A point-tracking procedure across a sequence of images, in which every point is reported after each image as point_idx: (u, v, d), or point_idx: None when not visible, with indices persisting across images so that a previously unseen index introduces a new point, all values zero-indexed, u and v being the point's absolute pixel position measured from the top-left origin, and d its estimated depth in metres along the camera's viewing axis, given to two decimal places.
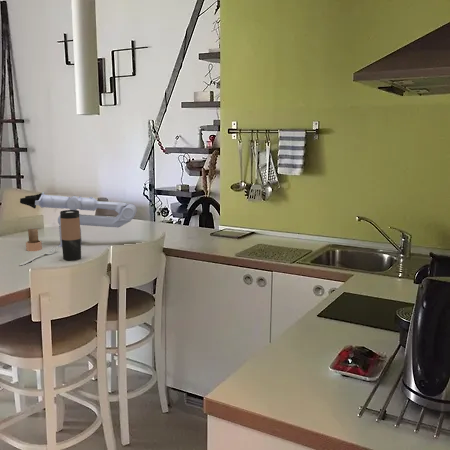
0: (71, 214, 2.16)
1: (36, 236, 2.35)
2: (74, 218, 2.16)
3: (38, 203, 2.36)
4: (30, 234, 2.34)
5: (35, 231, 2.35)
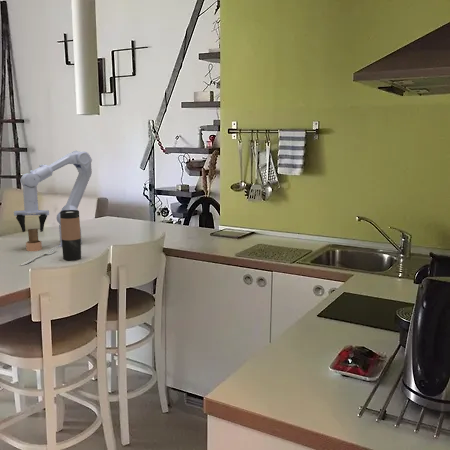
0: (71, 214, 2.16)
1: (36, 236, 2.35)
2: (74, 218, 2.16)
3: (48, 211, 2.35)
4: (30, 234, 2.34)
5: (35, 231, 2.35)
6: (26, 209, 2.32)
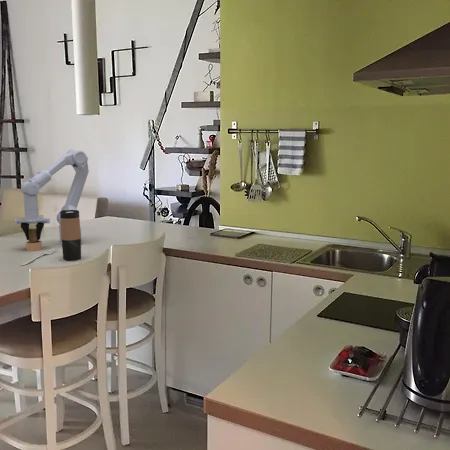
0: (71, 214, 2.16)
1: (36, 236, 2.35)
2: (74, 218, 2.16)
3: (48, 219, 2.36)
4: (30, 234, 2.34)
5: (35, 231, 2.35)
6: (27, 217, 2.32)
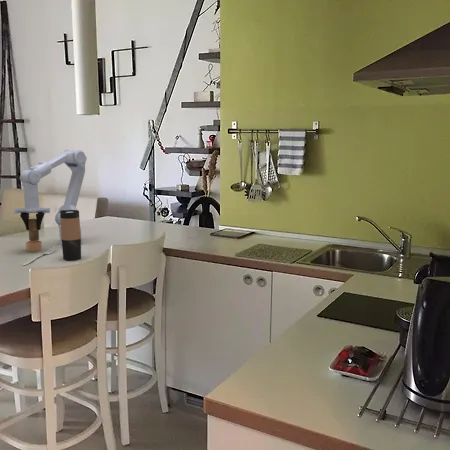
0: (71, 214, 2.16)
1: (36, 226, 2.29)
2: (74, 218, 2.16)
3: (49, 209, 2.29)
4: (30, 224, 2.28)
5: (35, 221, 2.29)
6: (26, 207, 2.26)
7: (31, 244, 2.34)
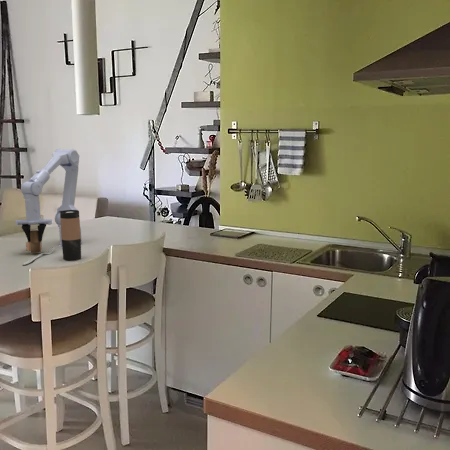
0: (71, 214, 2.16)
1: (38, 238, 2.27)
2: (74, 218, 2.16)
3: (51, 220, 2.27)
4: (32, 236, 2.26)
5: (37, 233, 2.27)
6: (28, 218, 2.24)
7: None
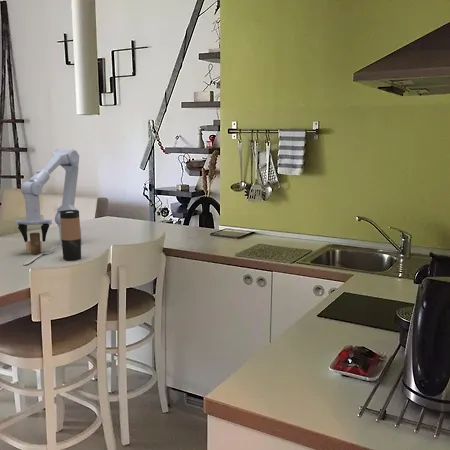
0: (71, 214, 2.16)
1: (38, 240, 2.28)
2: (74, 218, 2.16)
3: (51, 220, 2.27)
4: (32, 238, 2.26)
5: (37, 235, 2.27)
6: (28, 218, 2.24)
7: None
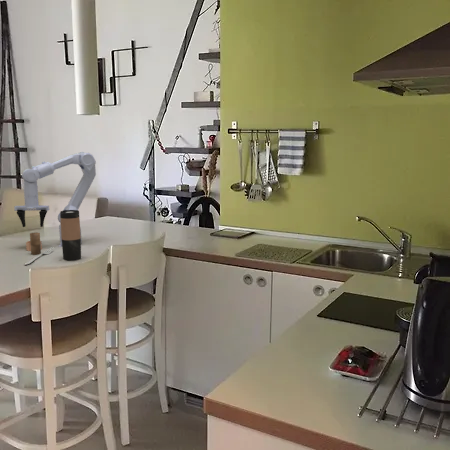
0: (71, 214, 2.16)
1: (38, 240, 2.28)
2: (74, 218, 2.16)
3: (48, 206, 2.37)
4: (32, 238, 2.26)
5: (37, 235, 2.27)
6: (26, 204, 2.34)
7: None
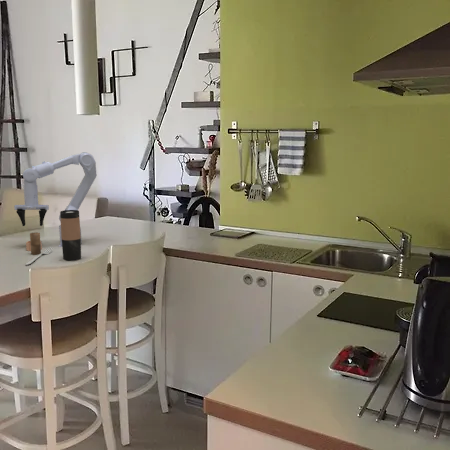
0: (71, 214, 2.16)
1: (38, 240, 2.28)
2: (74, 218, 2.16)
3: (48, 206, 2.39)
4: (32, 238, 2.26)
5: (37, 235, 2.27)
6: (26, 203, 2.36)
7: None
